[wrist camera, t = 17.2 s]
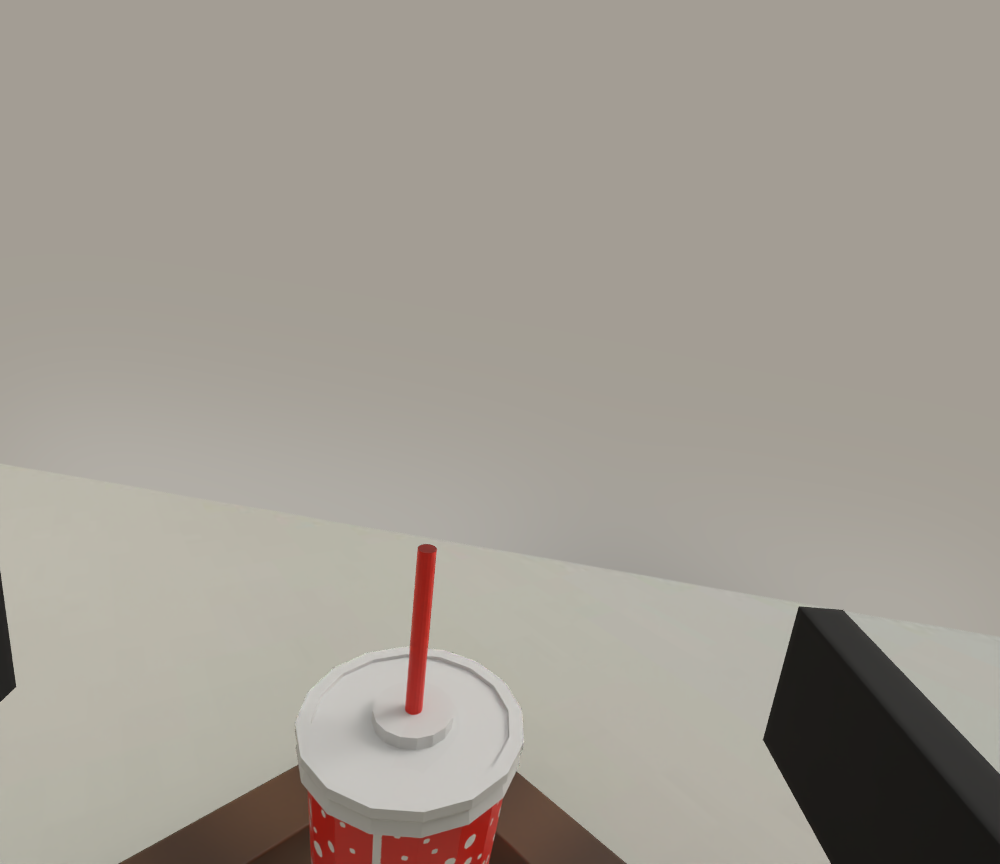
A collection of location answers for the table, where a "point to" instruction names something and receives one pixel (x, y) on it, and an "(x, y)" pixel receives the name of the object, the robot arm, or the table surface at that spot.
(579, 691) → the table surface
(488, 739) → the beverage cup
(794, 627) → the robot arm
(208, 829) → the bracket
